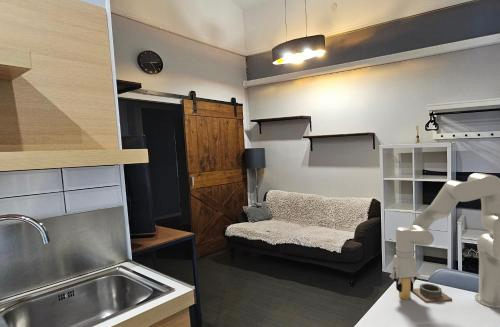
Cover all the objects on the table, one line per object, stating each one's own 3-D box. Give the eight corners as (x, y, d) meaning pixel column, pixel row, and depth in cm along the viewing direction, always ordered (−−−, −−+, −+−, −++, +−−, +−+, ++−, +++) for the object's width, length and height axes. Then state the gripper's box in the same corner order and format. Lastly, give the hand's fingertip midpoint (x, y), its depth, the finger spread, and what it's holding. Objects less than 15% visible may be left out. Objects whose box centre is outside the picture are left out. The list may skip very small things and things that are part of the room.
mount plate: (434, 288, 157) (434, 281, 157) (452, 300, 145) (452, 292, 145) (410, 290, 156) (410, 283, 156) (425, 302, 144) (425, 294, 144)
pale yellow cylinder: (406, 294, 152) (406, 274, 151) (412, 299, 147) (412, 278, 146) (396, 295, 152) (396, 275, 151) (402, 300, 147) (402, 279, 146)
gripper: (416, 249, 153) (416, 285, 154) (383, 251, 151) (383, 288, 152) (426, 255, 145) (426, 293, 146) (391, 257, 144) (391, 295, 145)
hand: (404, 290), depth 149 cm, fingers closed on pale yellow cylinder, 5 cm apart
